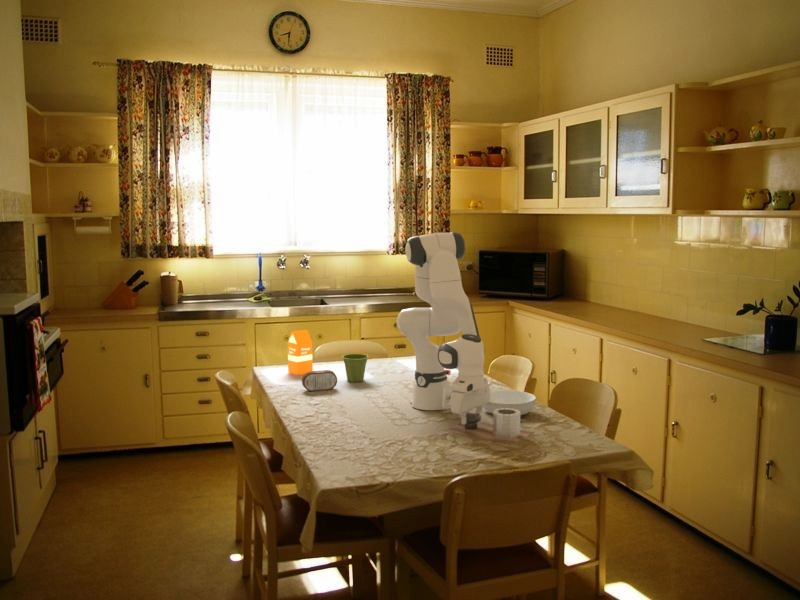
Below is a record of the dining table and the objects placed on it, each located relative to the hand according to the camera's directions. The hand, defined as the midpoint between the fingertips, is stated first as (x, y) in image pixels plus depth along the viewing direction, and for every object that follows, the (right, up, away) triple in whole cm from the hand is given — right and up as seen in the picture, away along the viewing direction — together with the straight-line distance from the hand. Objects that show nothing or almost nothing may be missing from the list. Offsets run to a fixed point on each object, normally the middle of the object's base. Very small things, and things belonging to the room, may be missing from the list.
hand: (471, 420), depth 261 cm
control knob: (0, -2, 0) cm, 2 cm away
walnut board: (+6, -4, -4) cm, 8 cm away
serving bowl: (+16, -1, +22) cm, 27 cm away
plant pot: (-45, +5, +78) cm, 90 cm away
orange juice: (-72, +7, +96) cm, 120 cm away
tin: (-59, +3, +61) cm, 85 cm away
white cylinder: (+11, -3, -8) cm, 14 cm away
